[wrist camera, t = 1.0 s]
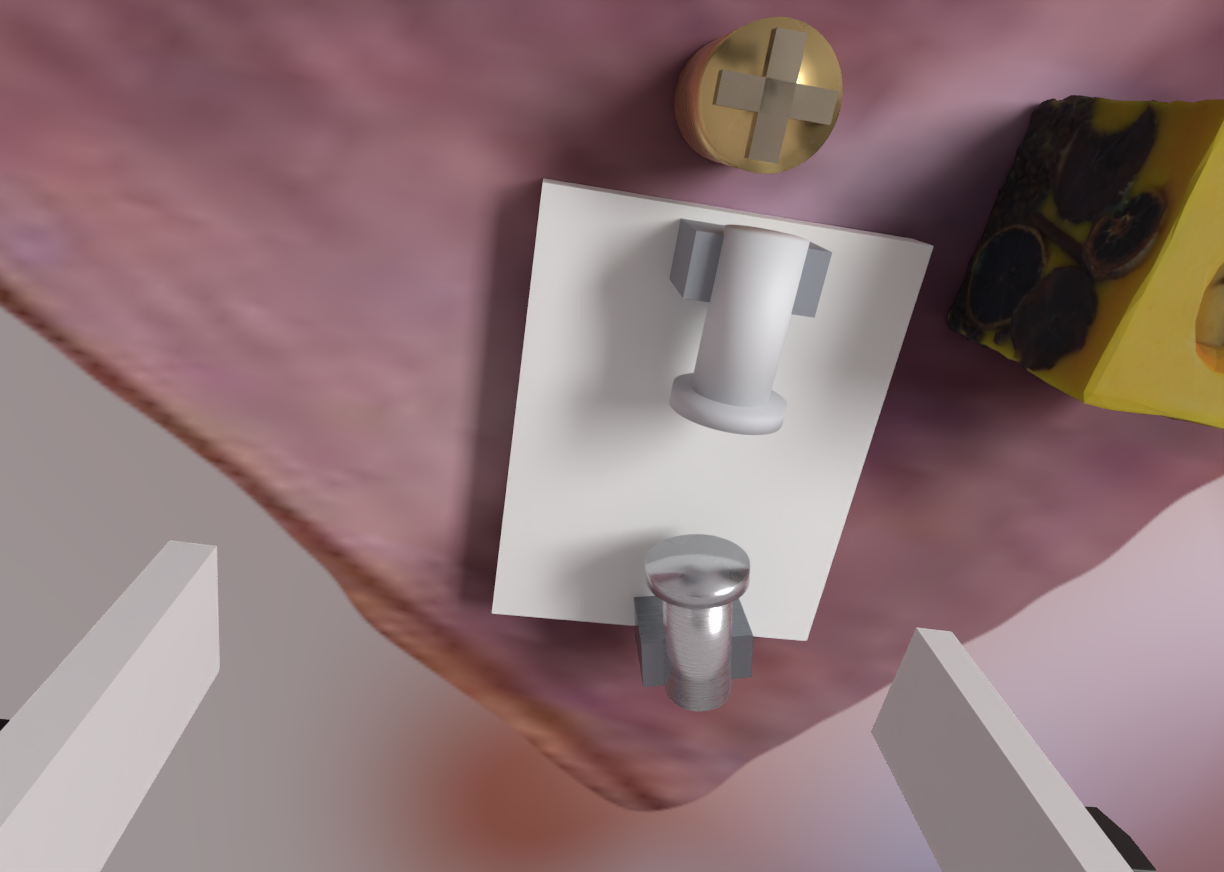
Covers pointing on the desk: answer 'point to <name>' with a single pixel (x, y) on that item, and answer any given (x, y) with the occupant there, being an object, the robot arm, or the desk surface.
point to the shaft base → (693, 398)
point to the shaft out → (694, 620)
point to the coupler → (760, 96)
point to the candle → (1110, 257)
